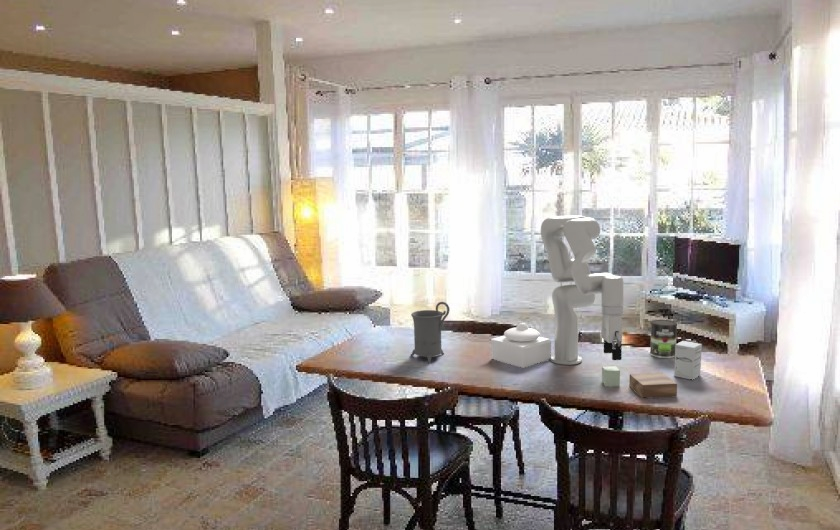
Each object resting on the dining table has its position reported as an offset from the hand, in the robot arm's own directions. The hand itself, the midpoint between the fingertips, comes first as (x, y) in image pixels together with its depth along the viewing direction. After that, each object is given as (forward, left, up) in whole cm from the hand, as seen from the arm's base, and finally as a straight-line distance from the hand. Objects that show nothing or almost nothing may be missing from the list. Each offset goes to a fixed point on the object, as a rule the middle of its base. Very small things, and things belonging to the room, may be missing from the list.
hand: (612, 356), depth 231 cm
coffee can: (-35, +33, -11) cm, 49 cm away
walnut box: (+8, +12, -11) cm, 18 cm away
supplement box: (-7, +31, -11) cm, 33 cm away
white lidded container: (-35, -27, -11) cm, 46 cm away
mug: (-41, -65, -11) cm, 78 cm away
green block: (-1, 0, -11) cm, 11 cm away
